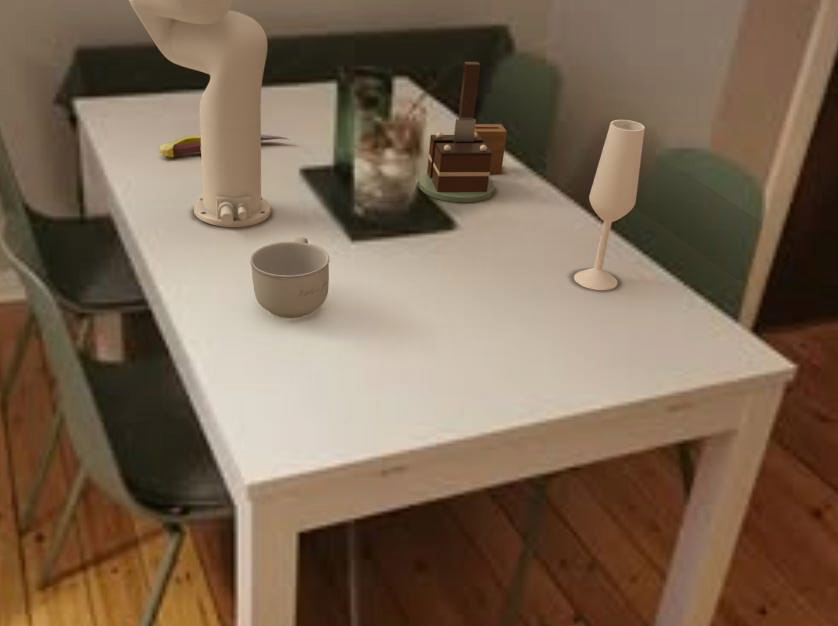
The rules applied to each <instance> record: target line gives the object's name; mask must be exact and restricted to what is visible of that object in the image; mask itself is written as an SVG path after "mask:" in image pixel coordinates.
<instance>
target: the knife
mask: <svg viewBox="0 0 838 626" xmlns="http://www.w3.org/2000/svg"><path fill="white" fill-rule="evenodd" d="M271 140H289V141H290V140H291V139H289V138H288V137H284V136H279V135H270V134H262V133H261V142H262V141H271ZM158 152H159V154H160V155H162V156H163V157H169V158H174V157H175V156H179V155H185V154H186V155H188V154H194V153H201V134H198V135H195V134H194V135H186V136H182V137H179V138H177V139H175V140H173V141H170V142H167V143H163V144H160V146H158Z"/></svg>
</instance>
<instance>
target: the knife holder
mask: <svg viewBox="0 0 838 626" xmlns="http://www.w3.org/2000/svg"><path fill="white" fill-rule="evenodd" d="M475 132H476V133H477V134H478V135H480V136H481V138H482V139H483V143H485V144H486V145H487V146H488V148H489V149H490V151H491V152H492V157H491V165H490V174H493V175H494V174H495V175H497V174H498V175H501V174H502V170H503V165H504V163H503V162H504V156H505V150H506V149H505V148H506V141H507V134H508V131H507V129H506V128H505V127H504V125H503V124H502V123H476V124H475Z"/></svg>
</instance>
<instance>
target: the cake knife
mask: <svg viewBox="0 0 838 626" xmlns="http://www.w3.org/2000/svg"><path fill="white" fill-rule="evenodd" d="M480 68H481V63H479V62H478V61H464V62H463V70H462V79H461V89H460V99H459V109H458V118H455V123H454V124H455V125H454V133H453V135H454V142H453V143H473V141H474V132H475V124H477V120H476V119H475V113H476V112H475V111H476V103H477V95H478V86H479V79H480V70H481V69H480Z"/></svg>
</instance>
